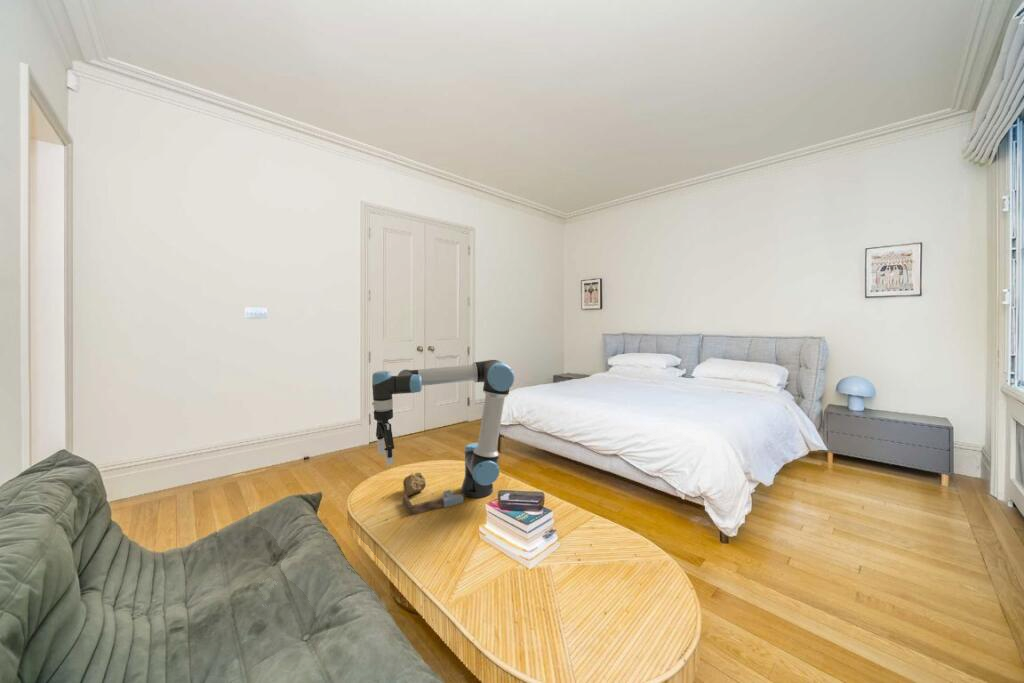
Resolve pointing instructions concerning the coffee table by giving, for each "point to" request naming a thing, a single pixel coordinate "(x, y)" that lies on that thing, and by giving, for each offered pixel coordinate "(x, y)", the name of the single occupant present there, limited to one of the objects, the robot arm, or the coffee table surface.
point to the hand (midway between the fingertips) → (385, 459)
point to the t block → (452, 499)
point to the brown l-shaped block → (422, 505)
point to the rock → (414, 483)
